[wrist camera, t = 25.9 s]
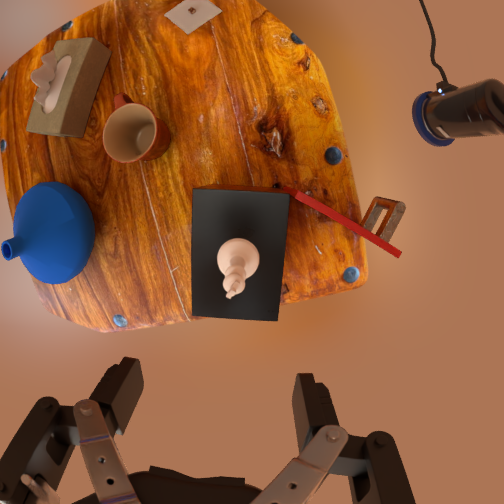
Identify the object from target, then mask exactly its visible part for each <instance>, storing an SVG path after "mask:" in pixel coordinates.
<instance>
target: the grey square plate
mask: <svg viewBox="0 0 504 504" xmlns="http://www.w3.org/2000/svg"><path fill="white" fill-rule="evenodd" d="M221 12H222V10H221V9H219V8H218V7H217V6H215V5H214V4H213V3H211V2H210V1H208V0H185V1H183V2H182V3H180V4H179V5H177V6H176V7H174V8H173V9H171V10H170V11H169V12H167V13H166V14H165V16H166V17H167V18H168V19H170V20H171V21H172V22H173V23H175V24H176V25H177V26H178V27H180V28H181V29H182V30H183V31H184V32H186V33H187V34H190V33H191V32H192V31H194V30H195V29H197V28H198V27H199V26H201V25H202V24H204V23H205V22H207V21H208V20H210V19H211V18H213V17H214V16H216V15H217V14H219V13H221Z"/></svg>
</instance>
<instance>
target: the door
mask: <svg viewBox="0 0 504 504" xmlns="http://www.w3.org/2000/svg"><path fill="white" fill-rule="evenodd" d="M283 191H285V192H287V193H289V194H290V196H292V197H293V198H295V199H297V200H299V201H301V202H303V203H305V204H306V205H308V206H310V207H312V208H314V209H315V210H317V211H319V212H321V213H323V214H324V215H326V216H328V217H330V218H332V219H333V220H335V221H337V222H339V223H340V224H342V225H344V226H346V227H347V228H349V229H351V230H352V231H354V232H356V233H357V234H359V235H361V236H363V237H364V238H366V239H368V240H369V241H371V242H373V243H374V244H376V245H377V246H379V247H381V248H382V249H384V250H386V251H387V252H389V253H390V254H392V255H394V256H395V257H397V258H399V257H400V255H401V253H402V252H401V251H400V250H398V249H397V248H395V247H393V246H392V245H390V244H389V243H388V242H389V241H390V239H391V237H392V235H393V233H394V231H395V229H396V227H397V225H398V224H399V221H400V220H401V218H402V216H403V214H404V212H405V209H406V207H405V204H404V203H403V202H400V201H395V200H391V199H386V198H381V197H375V198H374V199H373V201H372V203H371V205H370V207H369V208H368V210H367V212H366V215H365V216H364V218H363V220H362V222H361V224H360V225H358V224H357V223H355V222H353V221H352V220H350V219H348V218H347V217H345V216H343V215H341V214H340V213H338V212H336V211H335V210H333V209H331V208H329V207H328V206H326V205H324V204H322V203H321V202H319V201H317V200H315V199H313V198H312V197H310V196H308V195H306V194H304V193H302V192H301V191H298V190H296V189H293V188H290V187H287V186H284V188H283ZM383 209H386V210H388V211H387V213H386V215H385V217H384V219H383V221H382V223H381V225H380V227H379V229H378V230H377V232H376V234H373V233H371V231H372V229H373V227H374V225H375V223H376V221H377V219H378V217H379V216H380V214H381V212H382V210H383Z"/></svg>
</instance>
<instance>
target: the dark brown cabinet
mask: <svg viewBox="0 0 504 504" xmlns="http://www.w3.org/2000/svg"><path fill="white" fill-rule="evenodd" d="M289 202H290V194H289V193H287V192H285V191H283V190H281V189H279V188H272V187H257V186H241V185H221V184H211V185H206V186H201V187H197V188H193V198H192V238H191V287H192V316H202V317H214V318H228V319H244V320H261V321H278V313H279V305H280V296H281V287H282V277H283V267H284V257H285V247H286V236H287V225H288V214H289ZM235 238H241V239H245V240H248V241H249V242H251V243H252V244H253V245H254V246H255V247H256V249H257V250H258V253H259V265H258V267H257V269H256V271H255V272H254V274H253V275H251V276H250V277H248V278H246V279H245V288H244V290H243V291H242V292H241V293H239V294H235V295H234V296H232V297H231V299H229V298H227V297H226V294H227V293H228V292H227V291H226V290H225V289H224V287H223V281H224V279H225V275H224V274H223V273H222V272H221V270H220V268H219V266H218V262H217V255H218V252H219V249H220V248H221V246H222V245H223V244H224V243H225V242H227V241H229V240H231V239H235Z"/></svg>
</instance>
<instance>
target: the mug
mask: <svg viewBox="0 0 504 504" xmlns="http://www.w3.org/2000/svg"><path fill="white" fill-rule="evenodd" d="M114 104H115V111H114V112H113V113H112V114H111V115H110V116H109V118H108V119H107V121H106V124H105V126H104V129H103V136H102V140H103V146H104V149H105V151H106V153H107V154H108V155H109V156H110V157H111V158H112V159H113V160H115V161H117V162H120V163H131V162H135V161H137V160H144V161H149V160H153V159H156V158H158V157H160V156H161V155H163V154H164V153H165V152H166V150H167V149H168V147H169V145H170V140H171V134H170V131H169V128H168V127H167V125H166V124H165V122H164V121H162V120H161V119H159V118H157V117H155V115H154V113H153V112H152V111H151V110H150V109H149V108H148V107H147V106H145V105H143V104H139V103H134V102H133V101H132V99H131V98H130V97H129V96H128V95H127V94H125V93H123V92H120V93H119V94H117V95H116V96H115V97H114Z"/></svg>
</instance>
